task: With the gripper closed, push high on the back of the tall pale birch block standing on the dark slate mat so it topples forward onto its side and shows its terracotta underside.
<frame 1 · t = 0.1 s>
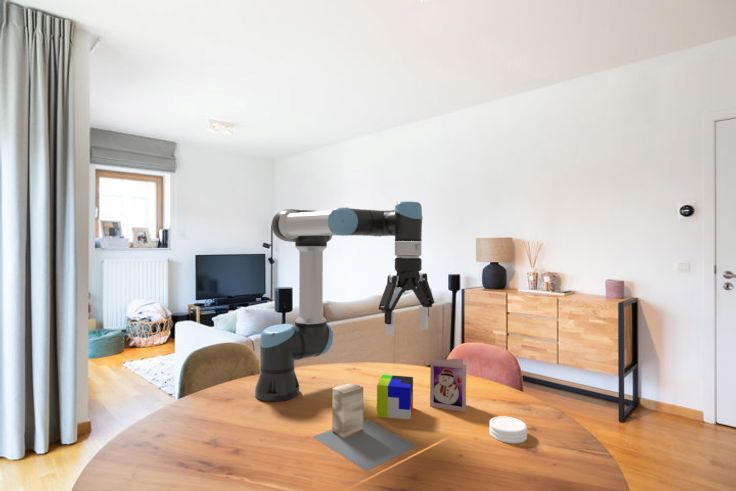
hand: (407, 332, 115), 28 cm above the table, tool pointing down, fingers open, 13 cm apart
white round disc stack: (507, 436, 114), on the table
birch block: (347, 431, 114), resting on slate mat
puzzle toy: (395, 413, 128), on the table
greeting card: (449, 406, 134), on the table
slate mat: (364, 442, 109), on the table
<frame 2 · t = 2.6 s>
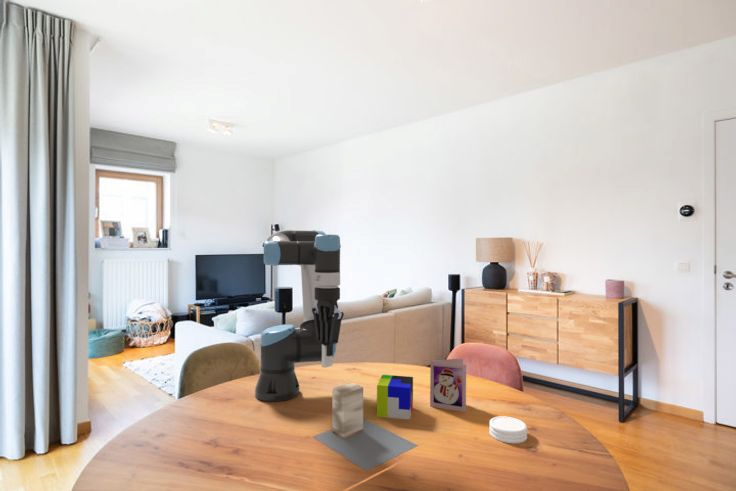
hand: (326, 366, 121), 16 cm above the table, tool pointing down, fingers closed
nothing on the table moved.
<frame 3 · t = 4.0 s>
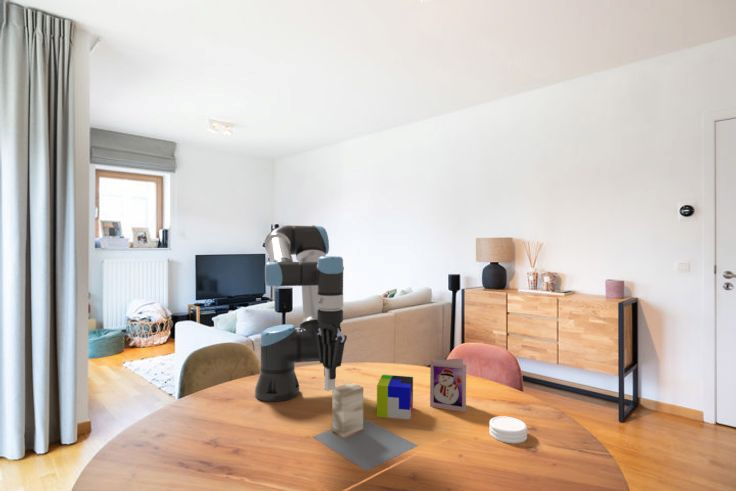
hand: (329, 389, 120), 10 cm above the table, tool pointing down, fingers closed
nothing on the table moved.
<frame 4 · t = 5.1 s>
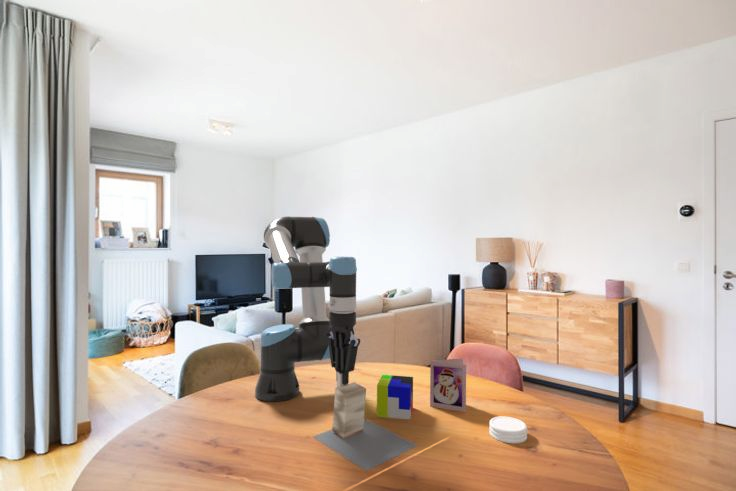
hand: (342, 394, 116), 10 cm above the table, tool pointing down, fingers closed
birch block: (347, 430, 114), point 1 cm above the table, tilted 6°, touching gripper, slate mat
everything else where it was.
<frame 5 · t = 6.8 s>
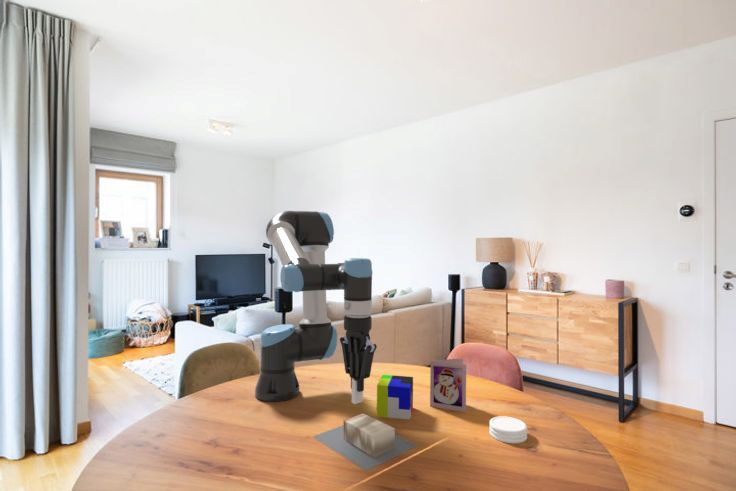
hand: (357, 401, 111), 10 cm above the table, tool pointing down, fingers closed
birch block: (353, 425, 112), point 3 cm above the table, tilted 90°, touching slate mat
everything else where it was.
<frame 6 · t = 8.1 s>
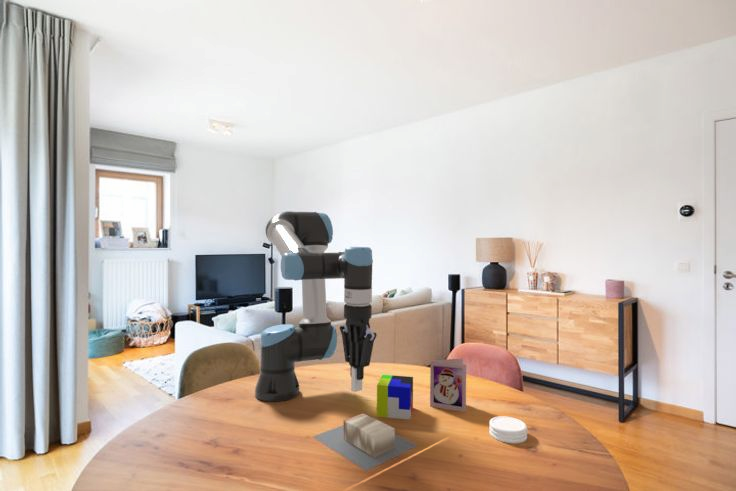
hand: (356, 390, 111), 13 cm above the table, tool pointing down, fingers closed
nothing on the table moved.
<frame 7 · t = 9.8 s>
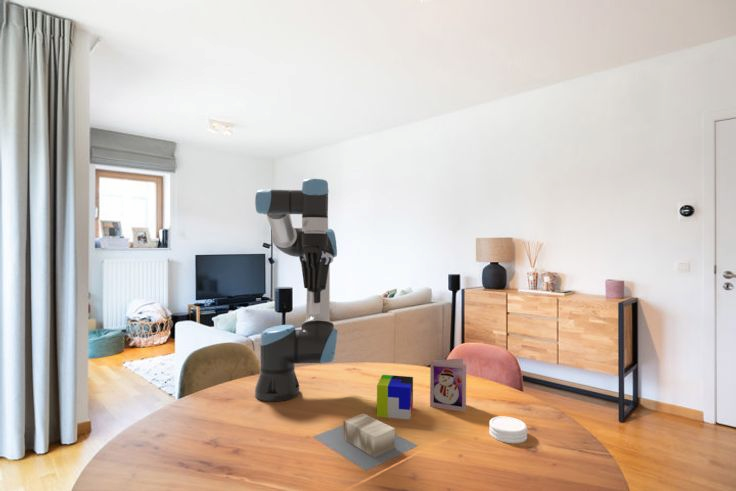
hand: (314, 313, 119), 32 cm above the table, tool pointing down, fingers closed
nothing on the table moved.
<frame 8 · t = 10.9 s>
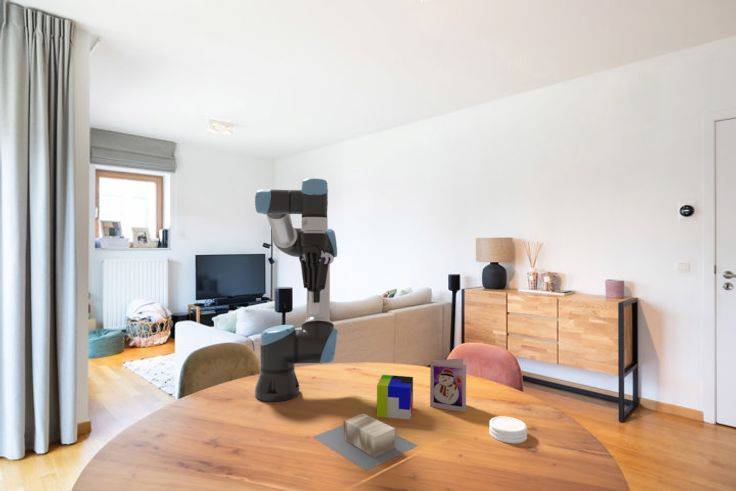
hand: (313, 313, 119), 32 cm above the table, tool pointing down, fingers closed
nothing on the table moved.
at the end: birch block tilted 90°; birch block inside the target area (1.5 cm from its centre), point 2.9 cm above the table; the gripper is holding nothing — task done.
